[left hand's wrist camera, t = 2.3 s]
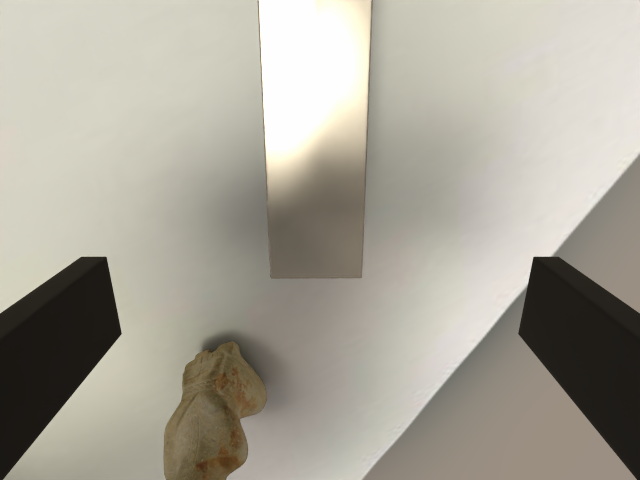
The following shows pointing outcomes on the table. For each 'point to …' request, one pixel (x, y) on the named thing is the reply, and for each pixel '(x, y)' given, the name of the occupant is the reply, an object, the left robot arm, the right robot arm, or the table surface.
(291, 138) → the bar
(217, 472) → the sculpture
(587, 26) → the table surface
